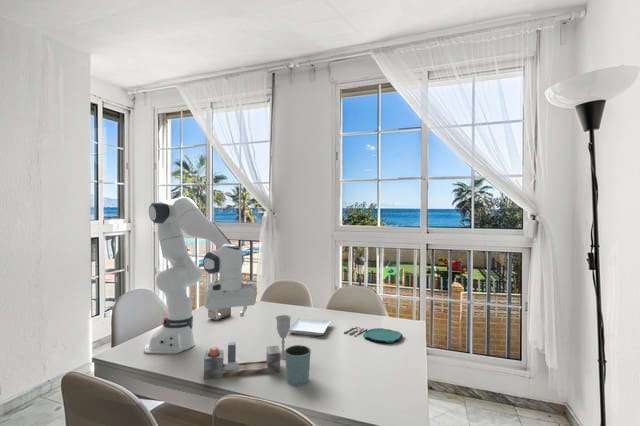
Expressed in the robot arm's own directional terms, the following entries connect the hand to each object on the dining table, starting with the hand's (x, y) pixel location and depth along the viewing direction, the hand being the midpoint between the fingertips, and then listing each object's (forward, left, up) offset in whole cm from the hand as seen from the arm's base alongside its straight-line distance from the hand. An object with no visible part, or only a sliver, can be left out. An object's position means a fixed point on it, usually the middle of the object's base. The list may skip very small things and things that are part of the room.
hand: (230, 317), depth 141 cm
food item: (-8, +76, -23) cm, 80 cm away
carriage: (+1, 0, -21) cm, 21 cm away
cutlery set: (+75, +29, -23) cm, 84 cm away
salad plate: (+42, +44, -23) cm, 65 cm away
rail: (+5, 0, -23) cm, 23 cm away
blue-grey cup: (+26, -12, -23) cm, 37 cm away
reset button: (-6, 0, -16) cm, 18 cm away
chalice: (+23, +11, -23) cm, 34 cm away
